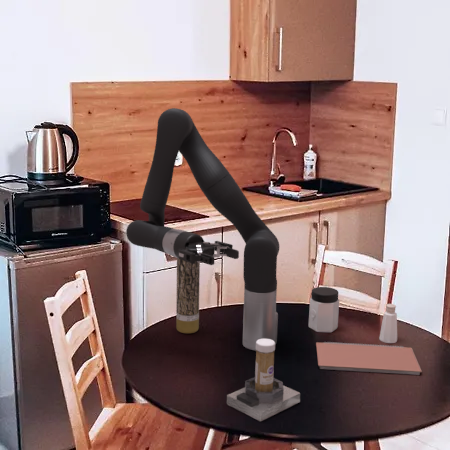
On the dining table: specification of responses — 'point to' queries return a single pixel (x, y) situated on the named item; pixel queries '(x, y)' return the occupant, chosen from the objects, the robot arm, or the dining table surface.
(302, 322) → the dining table surface
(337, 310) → the jar
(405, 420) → the dining table surface
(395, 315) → the salt shaker
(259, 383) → the sprinkles bottle
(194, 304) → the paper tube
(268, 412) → the octagonal ring base plate
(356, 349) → the notebook
